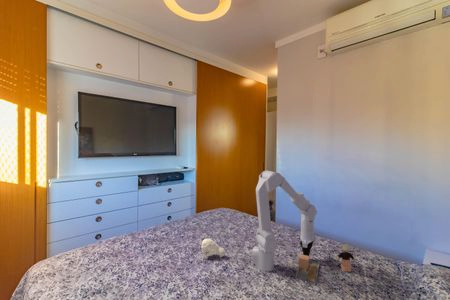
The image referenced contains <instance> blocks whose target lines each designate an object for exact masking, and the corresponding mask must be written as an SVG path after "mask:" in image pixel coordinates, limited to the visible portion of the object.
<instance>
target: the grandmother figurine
mask: <svg viewBox="0 0 450 300" xmlns="http://www.w3.org/2000/svg"><path fill="white" fill-rule="evenodd" d="M341 249H342V252H339V253H338V254H337V256H336V261H339V260H340V259H341V271H342V272H344V273H346V272H347V273H351V272H352V263H351V260H352V262H353V263H356V260H355V257H354V255H353V254H352V253H351V252H350V250H351V247H350V245H349V243H343V244H342V245H341Z"/></svg>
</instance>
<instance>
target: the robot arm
mask: <svg viewBox="0 0 450 300" xmlns="http://www.w3.org/2000/svg"><path fill="white" fill-rule="evenodd" d="M279 187H280V189H281V190H283V191H284V192H285V193H286V194H287V195H288V196H290V201H291V202H292V203H293V204H294V206H295V207H296V208H297V209H298V212H299V213H301V215H300V236H299V238H300V241H299V245H300V247H301V250H302V255H306V256H309V257H310V254H311V250H312V247H313V244H314V242H317V238H316V237H314V228H315V227H314V225H315V219H316V215H317V213H318V210H317V208H316V206H315V205H313V204H311V202H310V200H308V199H307V198H306V197H305V194H304V193H303V192H299V191H296V190H295V189H294V187H293V186H291V185H290V183H289V182H288V181H287V180H286V178H285V177H284V176H283V175H282V174H281V173H279V172H275V171H272V170H269V169H266V170H263V171H262V172H261V173H260V174H259V175H258V182H257V185H256V187H255V198H256V209H257V219H258V228H257V229H256V234H255V241H256V243H257V245H256V246H254V247H253V249H252V253H251V267H250V269H251V270H254V268H255V269H258V270H260V271H262V272H271V271H273V270H274V268H275V266H274V265H275V251H276V250H277V247H278V241H277V240H276V237H275V236H276V235H275V233H274V231H273V230H272V221H271V211H270V201H269V200H270V199H269V198H270V197H269V194H270V193H271V192H272V191H274V190H275V189H277V188H279Z"/></svg>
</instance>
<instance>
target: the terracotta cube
mask: <svg viewBox="0 0 450 300" xmlns="http://www.w3.org/2000/svg"><path fill="white" fill-rule="evenodd" d="M309 258H310V255H309V256H306V255H303V253H300V254H299V256H298V268H299V267H301V268H305V269H308V268H309Z"/></svg>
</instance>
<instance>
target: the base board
mask: <svg viewBox="0 0 450 300" xmlns="http://www.w3.org/2000/svg"><path fill="white" fill-rule="evenodd" d="M310 264H312V265H316V266H317V271H316V277H315V282H312V281H308V280H307V276H308V269H307V272H304V271H300V267H299V266H298V267H297V268H298V269H297V271H296V274H295V278H296V279H299V280H303V281H306V282H309V283H313V284H317V281H318V276H319V270H320V269H319V268H320V264H321V261H314V260H312V259H311V258H310V260H309V268H310Z"/></svg>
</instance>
